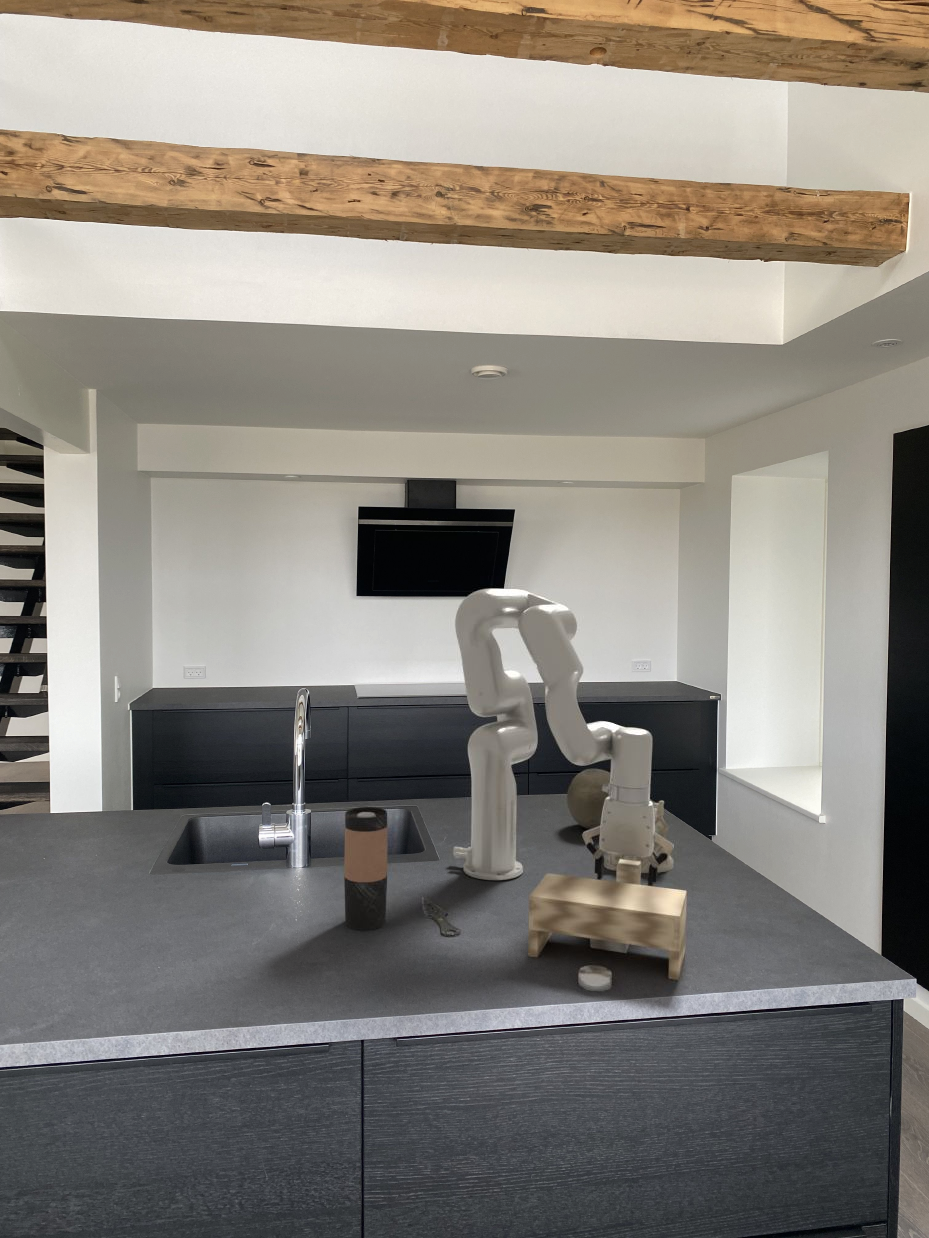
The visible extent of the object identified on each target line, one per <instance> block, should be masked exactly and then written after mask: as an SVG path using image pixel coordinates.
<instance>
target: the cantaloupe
mask: <svg viewBox="0 0 929 1238" xmlns="http://www.w3.org/2000/svg"><path fill="white" fill-rule="evenodd" d="M610 776H611V772H610V771H608V770H604V769H599V768H587V769H584V770H582V771H580V772H579V773H577V774H576V775H575V776H574V777H573V778H572V781H570V782H571V783H570V785H569V786H568V788H567V789H568V790H567V793H566V794H567V795H566V803H567V807H568V810H569V812H570V815H571V818H572V819H573V821H575V822H576V823H577V824H578V825H580V826H581V827H583V828H585V829H588V830H590V829H593V828H595V827H598V826H601V817H602V811H603V806H604V802H605V799H606V798H607V797H609V794H608V793H607V792H605V791H602V786H603V784H605V785H607V784H609V783H610Z"/></svg>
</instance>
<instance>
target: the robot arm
mask: <svg viewBox="0 0 929 1238" xmlns="http://www.w3.org/2000/svg"><path fill="white" fill-rule="evenodd" d="M454 620H455V621H454V625H455V626H454V627H455V635H456V639H457V643H458V646H459V651H460V657H461V662H462V663H461V665H462V671H463V677H464V678H463V679H464V685H465V692H466V697H467V702H468V706H469V709H470V710H471V712H472V713H474V715H476V716H478V717H482V718H488V717H489V718H491V717H496V718H497V720H496V721H494V722H490V723H486V724H483V725H482V726H479V727H478V728H475V730H474V731H473V733H472V734H471V735H470V737H469V739H468V743H467V755H468V760H469V766H470V775H471V776H470V777H471V825H470V826H471V829H470V830H471V832H470V833H471V835H470V836H471V837H470V839H471V841H470V846H468V847H467V848H466V847H463V846H453V849H452V854H453V855H452V856H454V859H458V860H465V861H466V862H464V863H463V872H464V873H465V874H466V875H468V876H469V877H472V878H475V879H479V880H485V881H506V880H511V879H514V878H517V877H519V876H521V875H522V874H523V871H524V867H523V864H522V863H521V862H519V861H517V860H516V859H517V856H516V854H517V849H516V848H517V783H516V779H515V775H514V772H513V768H512V765H514V764H515V765H516V764H518V763H521V762H524V761H527V760H529V759H531V757H532V756H533V755H534V754H535V752H536V749H537V748H538V747H537V746H538V742H539V741H538V729H537V722H536V716H535V711H534V710H535V708H534V702H533V696H532V691H531V688H530V685H529V683H528V681H527V679H526V678H525V677H524V676H523V675H522V674H521V673H520V672H518V671H515V670H513V669H504V665H503V661H502V659H503V658H502V652H501V647H500V646H499V643H498V641H497V639H496V638H495V636H494V634H493V631H494V630H497V629H517V630H518V632H519V634H520V636H521V638H522V641H523V643H524V645H525V648H526V649H527V651H528V654H529V656H530V657H531V660H532V661H533V664H534V666H535V668H536V670H537V672H538V673H539V676H540V678H541V681H542V683H543V685H544V688H545V690H544V691H545V693H544V704H545V706H544V707H545V714H546V721H547V723H548V726H549V729H550V732H551V733H552V736H553V737H554V740H555V742H556V744H557V746H558V747H559V749H560V751H561V753H562V754H563V755H564V756H565V758H566V759H567V760H568V761H570V763H571V764H574V765H577V766H581V767H582V766H583V767H584V766H585V767H586V766H589V765H592V764H595V763H598V762H601V761H602V762H603V761H608V760H610V773H611V776H610V783H609V784H607V785H605V784H603V786H602V791H605V792H607V793H608V794H609V797H607V798H606V799H605V802H604V806H603V811H602V817H601V826H598V827H595V828H593V829H587V830H585V831H583V833H582V834H581V836H582V839H583V842H584V843H585V845H586V848H587V850H588V851H589V852H590V853H591V854H592V856H593V858H594V874H596V875H597V878H596V879H597V880H603V877H604V876H605V874H604V873H605V866H604V857H605V852H608V853H614V854H620V855H627V856H634V857H646V858H647V859H648V861H649V862H650V863H651V864H650V866H649V873H648V879H647V886H653V887H654V883H656V884H657V882H658V873H659V872H658V865H660V864H661V863H662V862H664V861H665V860H666V859H667V857H668V856H669V854H672V852H673V850H674V847H675V844H674V843H672V842H671V841H669V840H668V839H665V838H663V837H662V836H660V835H659V834H657V833H656V832H655V817H654V808H653V804H654V802H653V801H651V799H650V797H651V777H652V758H653V757H652V755H653V736H652V733H651V732H650V731H649V730H646V729H643V728H640V727H639V728H638V727H625V726H621V725H618V724H615V723H613V722H609V721H603V720H599V721H594V722H589V723H587V722H586V721H585V719H584V716H583V714H582V712H581V710H580V707H579V703H578V700H577V697H578V696H577V689H578V685H579V683H580V680H581V678H582V676H583V674H584V666H583V664H582V662H581V660H580V658H579V656H578V654H577V652H576V650H575V648H574V646H573V644H572V642H571V641H572V639H574V638H575V635H576V633H577V629H578V624H577V619H576V617H575V614H574V613H573V612H572V610H571V609H569V608H568V607H567V606H565V605H563V604H561V603H558V602H557V601H552V600H549V599H547V598H544V597H542V596H538V595H537V594H535V593H531V592H529V591H526V590H522V589H517V588H483V589H479V590H476V591H473V592H472V593H470V594H468V595H467V596H466V597H465V598H464V599H463V600H462V601H461V602H460V605H459V606H458V609H457V611H456V614H455V619H454ZM595 836H599V838H598V839H599V840H598V845H599V847H598V846H597V845H596V843H595V842H594V841H593V839H592V837H595ZM655 842H657V843H658V844H660V845H661V846H663V847H664V851H663V852H662V853H661V854H659V855H658V856H657V855H656V853H655V852H654V850H653V849H654V846H655Z"/></svg>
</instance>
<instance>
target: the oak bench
mask: <svg viewBox="0 0 929 1238" xmlns="http://www.w3.org/2000/svg"><path fill="white" fill-rule="evenodd" d="M687 893H688V892H687V890H685V889H684V890H683V889H675V888H669V887H668V888H666V887H660V886H654V885H653V886H648V885H645V884H644V885H643V884H640V885H637V884H629V883H621V882H616V881H612V880H606V879H605V880H603V879H600V880H597V878H596V879H595V878H590V877H589V878H587V877H580V876H573V875H572V876H571V875H565V874H556V873H548V872H547V873H546V874H545V875H544V876H543V877H542V879H541V880H540V881H539V882H538V884H537V885H536V886H535V888H534V889H533V891H532V892H531V893H530V895H529V896H528V897H529V898H528V899H529V900H528V901H529V903H528V904H529V905H528V951H527V952H528V954H527V956H528V957H532V958H538V957H539V955H540V954H541V953H542V951H543V950H544V948H545V946H546V944H547V943H548V941H549V939H550V938H551V936H552V935H553V934H560V935H565V936H566V935H567V936H571V937H578V938H585V939H590V938H592V939H598V940H605V941H612V942H619V943H625V944H629V945H632V946H633V945H634V946H639V947H640V946H641V947H646V948H653V949H661V950H666V951H668V979H670V980H675V981H679V980H680V976H681V970H682V967H683V963H684V962H683V961H684V957H685V952H686V942H687V940H686V939H687V938H686V934H687V932H686V931H687V901H688V900H687V899H688V898H687Z"/></svg>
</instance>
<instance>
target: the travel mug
mask: <svg viewBox="0 0 929 1238" xmlns="http://www.w3.org/2000/svg"><path fill="white" fill-rule="evenodd" d="M344 818H345V819H344V824H345V825H344V826H345V827H344V867H343V868H344V869H343V870H344V871H343V872H344V873H343V878H344V881H343V883H344V885H343V886H344V917H345V918H344V921H345V926H346V927H348V928H349V929H351V930H355V931H372V930H377V929H379V928H382V927H383V926H384V925H385V923H386V917H387V916H386V914H387V913H386V912H387V891H388V889H387V888H388V811H387V810H385V808H382V807H381V808H380V807H375V806H362V807H355V808H351V809H348V810H347V811H345V813H344Z"/></svg>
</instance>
